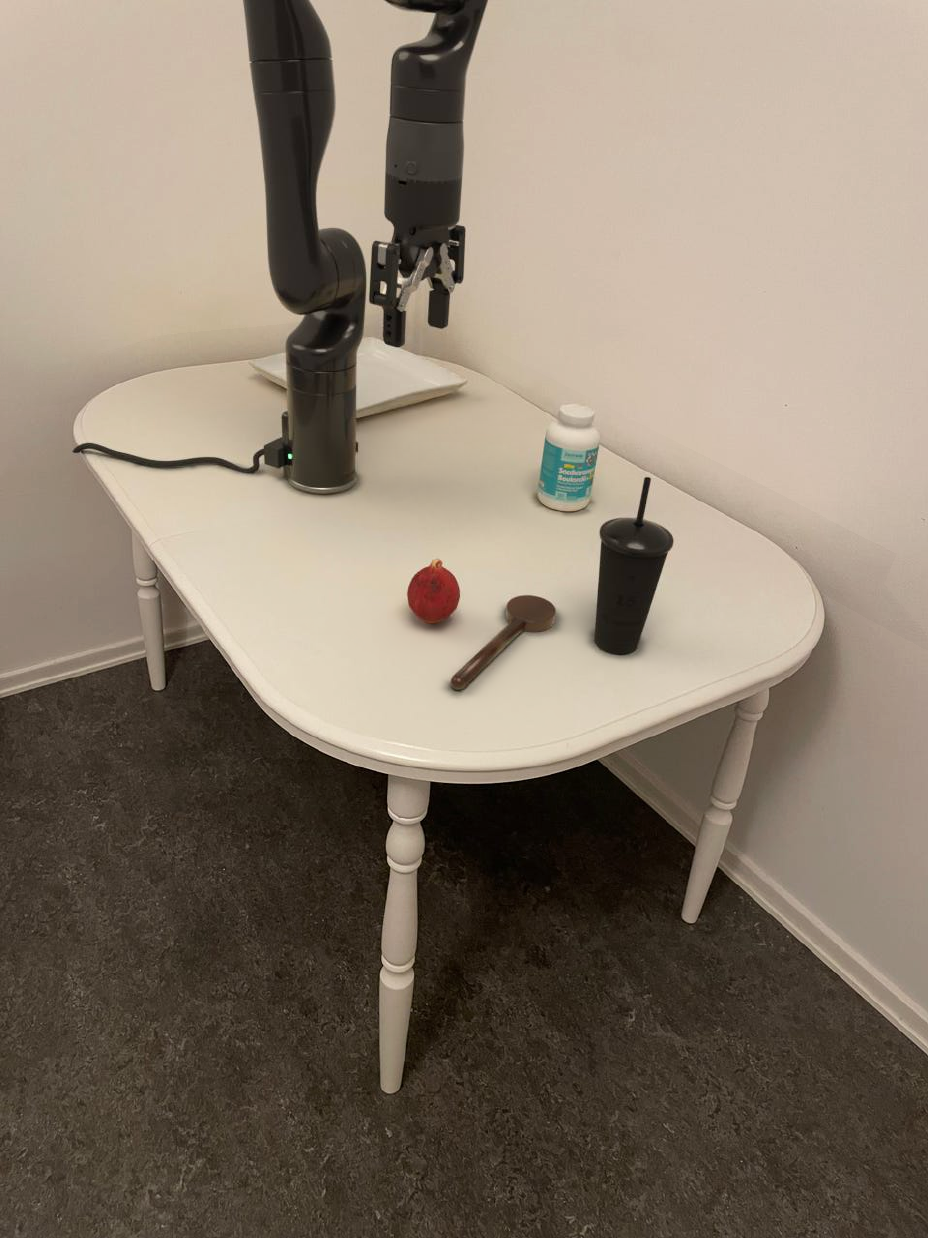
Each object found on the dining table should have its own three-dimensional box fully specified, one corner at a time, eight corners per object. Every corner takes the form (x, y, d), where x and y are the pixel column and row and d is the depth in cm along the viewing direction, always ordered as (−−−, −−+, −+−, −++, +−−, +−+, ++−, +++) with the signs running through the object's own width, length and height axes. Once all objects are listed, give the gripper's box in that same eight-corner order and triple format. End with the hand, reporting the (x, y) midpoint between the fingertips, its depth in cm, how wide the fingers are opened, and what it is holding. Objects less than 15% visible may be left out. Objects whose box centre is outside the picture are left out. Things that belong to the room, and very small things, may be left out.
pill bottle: (554, 517, 131) (567, 423, 124) (526, 494, 136) (538, 403, 129) (599, 508, 134) (615, 417, 127) (571, 486, 139) (584, 397, 132)
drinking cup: (575, 622, 110) (602, 461, 98) (640, 623, 110) (674, 463, 99) (588, 662, 103) (618, 494, 92) (657, 663, 104) (695, 496, 93)
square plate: (246, 380, 165) (245, 358, 163) (371, 353, 181) (372, 333, 179) (341, 433, 149) (341, 409, 147) (469, 398, 166) (471, 377, 163)
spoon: (430, 682, 98) (431, 669, 97) (519, 599, 113) (521, 588, 112) (477, 702, 96) (479, 689, 95) (562, 615, 111) (564, 604, 110)
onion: (452, 641, 105) (457, 578, 100) (400, 632, 105) (403, 570, 101) (461, 612, 110) (466, 551, 105) (411, 605, 110) (415, 544, 106)
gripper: (430, 157, 100) (422, 314, 109) (348, 171, 89) (347, 343, 98) (493, 168, 97) (480, 328, 106) (416, 184, 87) (408, 360, 95)
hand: (416, 335), depth 102 cm, fingers open, 8 cm apart
